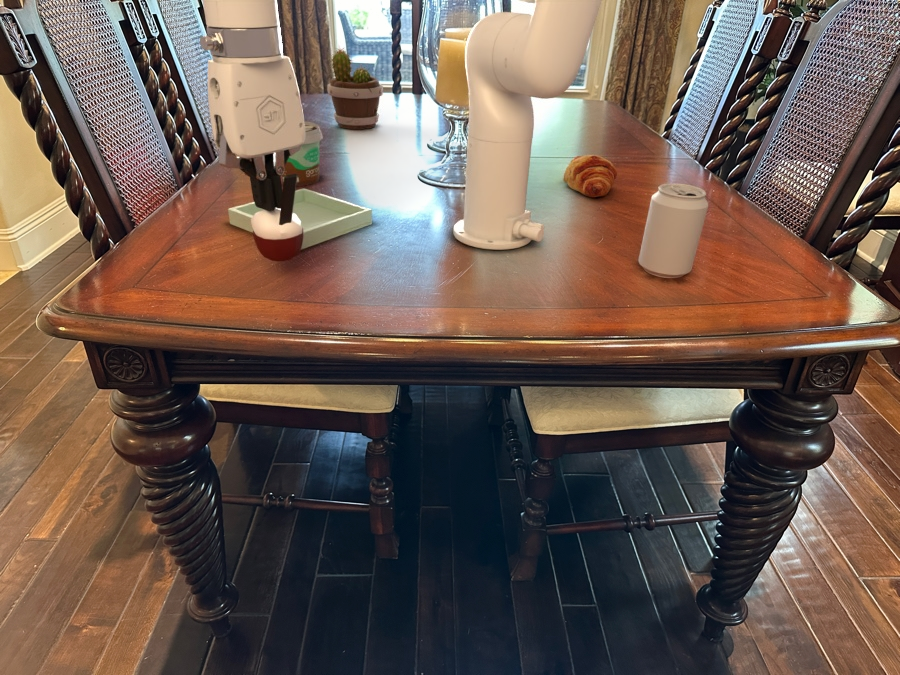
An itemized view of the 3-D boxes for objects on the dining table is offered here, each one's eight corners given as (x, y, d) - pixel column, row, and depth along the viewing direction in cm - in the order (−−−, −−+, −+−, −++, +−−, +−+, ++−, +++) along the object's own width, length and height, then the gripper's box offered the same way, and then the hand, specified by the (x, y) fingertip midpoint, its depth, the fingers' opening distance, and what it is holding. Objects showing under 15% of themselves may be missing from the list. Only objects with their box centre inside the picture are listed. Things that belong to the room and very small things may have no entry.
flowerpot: (385, 121, 172) (383, 42, 162) (382, 132, 159) (380, 48, 149) (333, 119, 172) (328, 40, 161) (325, 131, 158) (320, 46, 148)
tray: (372, 224, 100) (371, 209, 99) (297, 250, 89) (296, 234, 88) (305, 201, 109) (303, 188, 108) (229, 223, 98) (227, 208, 97)
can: (660, 283, 84) (680, 199, 78) (626, 263, 90) (642, 182, 84) (702, 276, 87) (724, 193, 81) (666, 256, 93) (684, 178, 87)
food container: (310, 190, 114) (306, 136, 109) (280, 187, 115) (274, 133, 110) (334, 173, 125) (331, 122, 120) (306, 170, 126) (302, 120, 121)
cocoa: (255, 247, 83) (240, 158, 77) (302, 242, 84) (290, 154, 78) (260, 275, 75) (244, 178, 69) (311, 269, 77) (300, 174, 71)
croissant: (564, 187, 134) (551, 154, 130) (608, 167, 131) (596, 133, 128) (581, 218, 115) (566, 180, 112) (632, 195, 113) (618, 156, 109)
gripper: (204, 53, 59) (236, 231, 69) (322, 42, 70) (335, 198, 79) (162, 47, 63) (198, 216, 73) (279, 37, 74) (297, 187, 83)
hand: (269, 206), depth 76 cm, fingers closed on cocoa, 1 cm apart
